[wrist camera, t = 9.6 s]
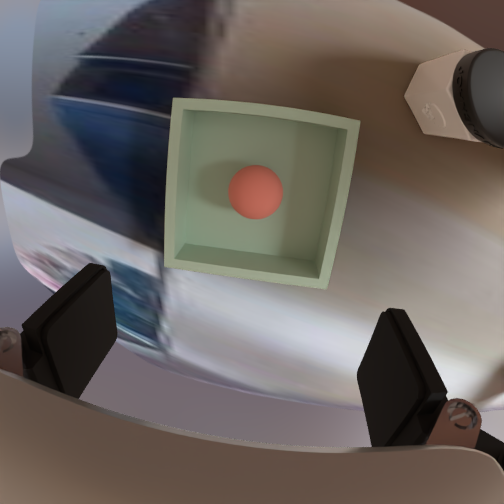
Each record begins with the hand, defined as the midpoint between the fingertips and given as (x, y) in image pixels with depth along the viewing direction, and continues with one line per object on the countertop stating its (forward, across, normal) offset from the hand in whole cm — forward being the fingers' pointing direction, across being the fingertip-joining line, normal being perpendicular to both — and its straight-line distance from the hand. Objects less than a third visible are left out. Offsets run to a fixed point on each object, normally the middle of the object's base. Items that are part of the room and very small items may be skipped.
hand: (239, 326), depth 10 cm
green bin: (+23, +1, 0) cm, 23 cm away
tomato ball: (+20, +1, 0) cm, 20 cm away
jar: (+24, -17, -13) cm, 32 cm away
